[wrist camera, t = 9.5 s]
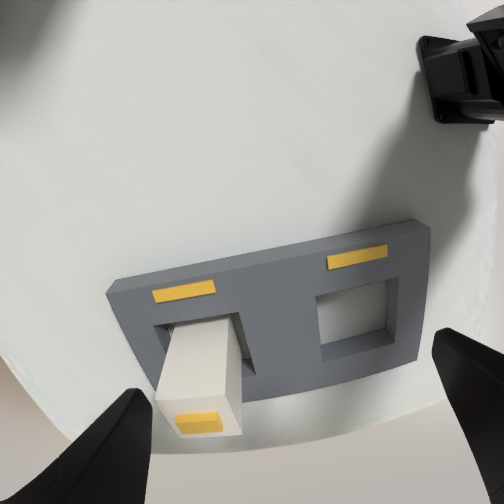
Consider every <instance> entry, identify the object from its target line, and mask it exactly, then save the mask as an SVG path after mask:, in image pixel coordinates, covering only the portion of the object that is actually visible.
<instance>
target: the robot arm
mask: <svg viewBox="0 0 504 504" xmlns="http://www.w3.org/2000/svg"><path fill="white" fill-rule="evenodd" d="M466 25H467V27H468V28H469V30H470V32H473V34H474V35H475V37H476V38H472V39H468V40H464V41H456V40H450V39H445V38H438V37H432V36H422V37H420V39H419V44H420V47H421V51H422V55H423V59H424V65H425V70H426V75H427V79H428V84H429V90H430V94H431V99H432V105H433V111H434V117H435V120H436V122H438V123H442V124H450V123H474V124H493V123H494V122H495V120H501V121H504V5H502V6H498V7H496V8H494V9H492V10H490V11H489V12H487V13H485V14H483V15H481V16H479V17H477V18H476V19H474V20H472V21H470V22H468V23H467V24H466ZM425 41H426V42H427V43H428V45H427V44H426V43H425ZM440 114H441V115H442V119H441V118H440ZM432 358H433V360H434V363H435V366H436V368H437V371H438V373H439V376H440V379H441V381H442V384H443V387H444V390H445V392H446V395H447V397H448V400H449V402H450V404H451V406H452V408H453V410H454V412H455V414H456V416H457V419H458V421H459V423H460V425H461V428H462V430H463V432H464V434H465V437H466V439H467V441H468V443H469V446H470V448H471V451H472V453H473V455H474V458H475V460H476V463H477V465H478V468H479V471H480V473H481V476H482V478H483V481H484V484H485V487H486V490H487V493H488V496H489V497H490V498H489V499H490V502H491V504H504V354H502V353H500V352H498V351H496V350H494V349H492V348H490V347H488V346H486V345H484V344H481V343H479V342H477V341H475V340H473V339H471V338H469V337H467V336H465V335H463V334H461V333H459V332H457V331H455V330H453V329H451V328H443V329H441V330H438V331H436V333H435V336H434V341H433V346H432ZM152 413H153V410H152V406H151V403H150V402H149V400H148V399H147V398H146V396H145V395H144V393H143V392H142V390H141V389H139V388H129V389H127V390H126V391H125V392H124V393H123V394H122V395H121V396H120V397H119V398H118V399H117V400H116V401H115V402H114V403H113V404H111V405H110V406H109V407H108V408H107V409H106V410H105V411H104V412H103V413H102V414H101V415H100V416H99V417H98V418H97V419H96V420H95V421H94V422H93V423H92V424H91V425H90V426H89V427H88V428H87V429H86V430H85V431H84V432H83V433H82V434H81V435H80V436H79V437H78V438H77V439H76V440H75V441H74V442H73V443H72V444H71V445H70V446H69V447H68V448H67V449H66V450H65V451H64V452H63V453H62V454H61V455H60V456H59V458H57V459H55V460H54V461H53V462H52V463H51V464H50V465H49V466H48V467H47V468H46V469H45V470H44V471H43V472H42V473H40V474H39V475H38V476H37V477H36V478H34V479H33V480H32V481H31V482H30V483H28V484H27V485H26V486H24V487H23V488H22V489H20V490H19V491H18V492H17V493H15V494H14V495H13V496H11V497H10V498H8V499H6V500H3V501H0V504H144V502H145V494H146V485H147V477H148V469H149V462H150V454H151V437H152Z"/></svg>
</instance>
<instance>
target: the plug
mask: <svg viewBox="0 0 504 504" xmlns="http://www.w3.org/2000/svg"><path fill="white" fill-rule="evenodd" d="M154 401H155V403H156V404H157V406H158V408H159V409H160V411H161V412H162V414H163V415H164V417H165V418H166V420H167V421H168V423H169V424H170V425H171V427H172V428H173V430H174V431H175V433H176V434H177V435H178V437H179V438H180V439H189V438H207V437H221V436H231V435H241V434H242V369H241V349H240V345H239V342H238V339H237V336H236V332H235V329H234V326H233V322H232V319H231V315H230V313H229V314H223V315H217V316H211V317H205V318H199V319H193V320H187V321H180V322H176V324H175V327H174V331H173V334H172V337H171V341H170V344H169V348H168V351H167V355H166V358H165V362H164V365H163V369H162V372H161V376H160V380H159V383H158V387H157V391H156V394H155V398H154Z"/></svg>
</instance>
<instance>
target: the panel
mask: <svg viewBox="0 0 504 504" xmlns="http://www.w3.org/2000/svg"><path fill="white" fill-rule="evenodd" d="M429 252H430V228H429V227H427V226H426V225H424V224H422V223H421V222H419V221H417V220H416V219H415V220H410V221H406V222H401V223H396V224H391V225H386V226H381V227H376V228H371V229H366V230H361V231H356V232H351V233H346V234H341V235H336V236H331V237H326V238H321V239H316V240H312V241H307V242H302V243H297V244H292V245H287V246H282V247H277V248H272V249H267V250H262V251H257V252H252V253H247V254H242V255H237V256H232V257H227V258H222V259H217V260H212V261H207V262H202V263H197V264H192V265H188V266H183V267H178V268H173V269H168V270H163V271H158V272H153V273H148V274H143V275H138V276H133V277H128V278H123V279H118V280H115V281H114V283H113V284H112V285H111V287H110V288H109V289H108V291H107V292H106V293H105V294H106V296H107V299H108V301H109V303H110V305H111V307H112V310H113V312H114V314H115V316H116V318H117V320H118V322H119V324H120V326H121V329H122V331H123V333H124V335H125V337H126V339H127V341H128V343H129V344H130V346H131V348H132V350H133V352H134V354H135V356H136V358H137V360H138V361H139V363H140V365H141V367H142V369H143V370H144V372H145V374H146V376H147V378H148V379H149V381H150V383H151V384H152V386H153V388H154V390H155V391H157V387H158V383H159V380H160V376H161V372H162V369H163V365H164V362H165V358H166V355H167V351H168V348H169V344H170V341H171V337H170V335H169V332H168V330H167V328H166V325H165V324H167V323H174V322H180V321H187V320H193V319H199V318H205V317H211V316H217V315H223V314H229V313H234V312H239V315H240V319H241V323H242V326H243V330H244V334H245V337H246V341H247V344H248V348H249V351H250V355H251V358H252V359H248V360H242V361H241V369H242V402H249V401H256V400H263V399H269V398H275V397H280V396H286V395H291V394H296V393H301V392H306V391H310V390H315V389H319V388H324V387H328V386H332V385H336V384H340V383H344V382H348V381H352V380H355V379H359V378H363V377H366V376H370V375H373V374H376V373H380V372H383V371H386V370H389V369H392V368H395V367H398V366H401V365H404V364H407V363H410V362H413V361H416V360H417V357H418V351H419V346H420V340H421V333H422V327H423V320H424V312H425V303H426V294H427V283H428V270H429ZM383 280H387V310H386V328H385V329H382V330H378V331H375V332H371V333H367V334H364V335H360V336H356V337H352V338H348V339H344V340H340V341H336V342H332V343H328V344H324V345H320V334H319V324H318V315H317V306H316V297H315V296H319V295H324V294H328V293H333V292H337V291H342V290H346V289H350V288H354V287H359V286H363V285H367V284H371V283H375V282H379V281H383Z"/></svg>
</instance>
